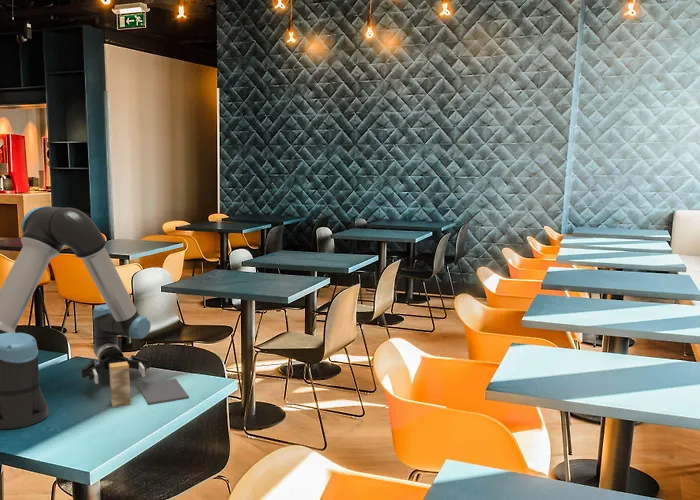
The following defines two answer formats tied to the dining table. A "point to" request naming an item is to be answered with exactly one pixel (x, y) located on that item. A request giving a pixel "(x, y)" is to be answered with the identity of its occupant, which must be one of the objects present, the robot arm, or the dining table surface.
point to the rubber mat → (162, 391)
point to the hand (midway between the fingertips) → (120, 375)
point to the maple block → (119, 384)
